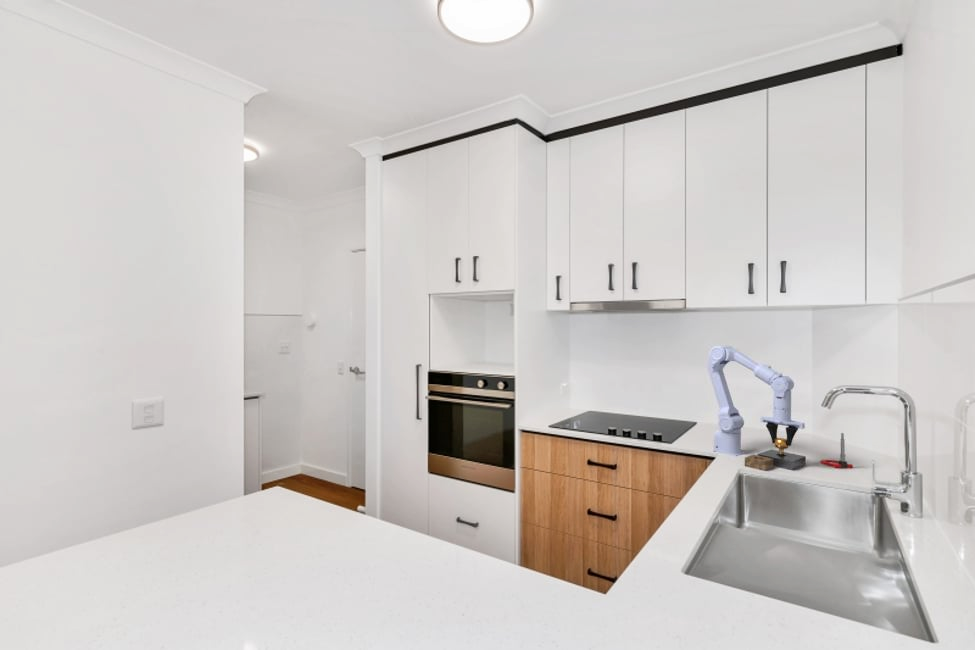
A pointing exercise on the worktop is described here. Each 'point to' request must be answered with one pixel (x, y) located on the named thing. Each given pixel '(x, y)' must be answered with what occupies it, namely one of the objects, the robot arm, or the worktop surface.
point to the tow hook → (842, 462)
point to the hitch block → (785, 459)
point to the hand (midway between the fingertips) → (781, 444)
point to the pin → (781, 445)
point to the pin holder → (759, 462)
